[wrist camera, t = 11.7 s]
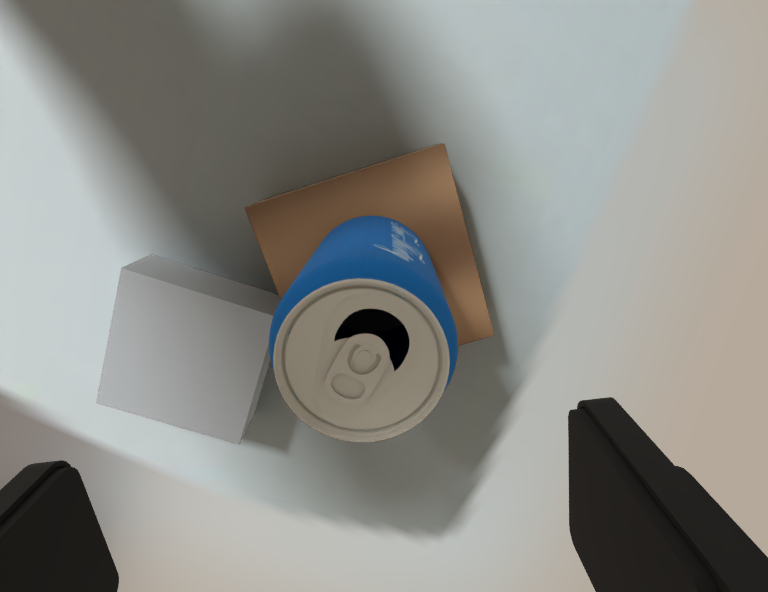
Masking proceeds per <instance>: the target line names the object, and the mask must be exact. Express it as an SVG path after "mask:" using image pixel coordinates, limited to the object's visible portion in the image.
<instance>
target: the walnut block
mask: <svg viewBox="0 0 768 592" xmlns="http://www.w3.org/2000/svg"><path fill="white" fill-rule="evenodd" d="M245 210H246V213H247V215H248V218H249V220H250V223H251V225H252V228H253V231H254V233H255V236H256V238H257V241H258V243H259V246H260V248H261V251H262V254H263V256H264V259H265V261H266V264H267V266H268V269H269V272H270V274H271V277H272V279H273V282H274V284H275V287H276V290H277V292H278V295H279V297H280V300H281V299H282V298H283V296H284V295H285V293H286V292H287V290H288V289H289V287H290V286H291V285H292V283H293V282H294V280H295V279H296V278H297V276H298V275H299V273H300V272H301V270H302V269H303V268H304V266H305V265H306V263H307V262H308V261H309V259H310V258H311V256H312V255H313V253H314V252H315V251H316V249H317V248H318V246H319V245H320V243H321V242H322V241H323V239H324V238H325V237H326V236H327V235H328V234H329V233H330V232H331V231H332V230H333V229H334V228H336V227H337V226H338V225H340V224H342V223H344V222H345V221H348V220H350V219H353V218H357V217H361V216H382V217H387V218H390V219H394V220H396V221H398V222H400V223H402V224H404V225H405V226H407V227H408V228H410V229H411V230H412V231H413V232H414V233H415V234H416V235H417V236H418V237H419V238H420V239H421V241H422V242H423V244H424V245H425V247H426V249H427V251H428V253H429V256H430V258H431V261H432V264H433V266H434V269H435V272H436V274H437V277H438V279H439V282H440V285H441V287H442V290H443V292H444V295H445V298H446V300H447V303H448V306H449V308H450V311H451V313H452V316H453V319H454V322H455V326H456V331H457V337H458V345H462V344H466V343H469V342H473V341H476V340H480V339H483V338H487V337H491V336H494V332H493V328H492V324H491V320H490V317H489V313H488V309H487V305H486V301H485V298H484V294H483V290H482V286H481V282H480V278H479V275H478V271H477V267H476V263H475V259H474V255H473V252H472V248H471V244H470V240H469V236H468V232H467V229H466V225H465V221H464V217H463V213H462V209H461V206H460V202H459V198H458V194H457V190H456V187H455V183H454V179H453V175H452V171H451V167H450V164H449V160H448V156H447V152H446V148H445V144H436V145H433V146H430V147H427V148H423V149H420V150H417V151H414V152H411V153H408V154H405V155H402V156H399V157H395V158H392V159H389V160H386V161H383V162H380V163H377V164H374V165H371V166H367V167H364V168H361V169H358V170H355V171H352V172H349V173H346V174H343V175H339V176H336V177H333V178H330V179H327V180H324V181H321V182H318V183H315V184H311V185H308V186H305V187H302V188H299V189H296V190H293V191H290V192H287V193H283V194H280V195H277V196H274V197H271V198H268V199H265V200H262V201H260V202H257V203H255V204H253V205H250V206H248V207H245Z"/></svg>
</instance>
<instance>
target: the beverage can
mask: <svg viewBox="0 0 768 592" xmlns="http://www.w3.org/2000/svg"><path fill="white" fill-rule="evenodd" d="M457 352H458V337H457V331H456V326H455V322H454V319H453V316H452V313H451V311H450V308H449V306H448V303H447V300H446V298H445V295H444V292H443V290H442V287H441V285H440V282H439V279H438V277H437V274H436V272H435V269H434V266H433V264H432V261H431V258H430V256H429V253H428V251H427V249H426V247H425V245H424V244H423V242H422V241H421V239H420V238H419V237H418V236H417V235H416V234H415V233H414V232H413V231H412V230H411V229H410V228H408V227H407V226H405V225H404V224H402V223H400V222H398V221H396V220H394V219H390V218H387V217H382V216H361V217H357V218H353V219H350V220H348V221H345V222H344V223H342V224H340V225H338V226H337V227H336V228H334V229H333V230H332V231H331V232H330V233H329V234H328V235H327V236H326V237H325V238H324V239H323V241H322V242H321V243H320V245H319V246H318V248H317V249H316V251H315V252H314V253H313V255H312V256H311V258H310V259H309V261H308V262H307V263H306V265H305V266H304V268H303V269H302V270H301V272H300V273H299V275H298V276H297V278H296V279H295V280H294V282H293V283H292V285H291V286H290V287H289V289H288V290H287V292H286V293H285V295H284V296H283V298H282V299H281V301H280V303H279V304H278V306H277V309H276V311H275V313H274V316H273V319H272V323H271V327H270V334H269V353H270V359H271V364H272V367H273V370H274V374H275V379H276V382H277V385H278V388H279V390H280V392H281V395H282V397H283V398H284V400H285V402H286V403H287V405H288V406H289V407H290V409H291V410H292V411H293V412H294V413H295V414H296V415H297V416H298V417H299V418H300V419H301V420H302V421H303V422H304V423H306V424H307V425H309V426H310V427H311V428H313V429H315V430H317V431H318V432H320V433H322V434H325V435H327V436H330V437H332V438H336V439H340V440H344V441H350V442H376V441H381V440H386V439H389V438H392V437H395V436H398V435H400V434H402V433H404V432H406V431H408V430H410V429H411V428H413V427H415V426H416V425H417V424H419V423H420V422H421V421H422V420H424V419H425V418H426V417H427V416H428V415H429V413H430V412H431V411H432V410H433V409H434V407H435V406H436V405H437V403H438V401H439V400H440V398H441V396H442V394H443V392H444V391H445V389H446V387H447V386H448V384H449V382H450V380H451V377H452V375H453V372H454V369H455V365H456V360H457Z"/></svg>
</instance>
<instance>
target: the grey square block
mask: <svg viewBox="0 0 768 592" xmlns="http://www.w3.org/2000/svg"><path fill="white" fill-rule="evenodd" d="M280 301H281V300H280V297H279V295H277V294H274V293H271V292H268V291H265V290H262V289H259V288H256V287H252V286H249V285H246V284H243V283H240V282H237V281H234V280H231V279H228V278H224V277H221V276H218V275H215V274H212V273H209V272H206V271H203V270H199V269H196V268H193V267H190V266H187V265H184V264H181V263H178V262H175V261H171V260H168V259H165V258H162V257H159V256H156V255H153V254H151V255H149V256H147V257H145V258H142V259H140V260H138V261H136V262H134V263H131V264H129V265H127V266H125V267H122V268H121V273H120V278H119V284H118V289H117V294H116V300H115V305H114V311H113V316H112V321H111V327H110V332H109V337H108V343H107V348H106V354H105V359H104V364H103V370H102V375H101V381H100V386H99V391H98V397H97V402H96V403H97V404H101V405H104V406H108V407H111V408H115V409H118V410H122V411H125V412H128V413H132V414H135V415H139V416H142V417H146V418H149V419H153V420H156V421H160V422H163V423H166V424H170V425H173V426H177V427H180V428H184V429H187V430H191V431H194V432H198V433H201V434H204V435H208V436H211V437H215V438H218V439H222V440H225V441H229V442H232V443H235V444H240V442H241V440H242V438H243V436H244V434H245V432H246V430H247V428H248V426H249V424H250V422H251V420H252V418H253V416H254V414H255V410H256V407H257V404H258V400H259V397H260V393H261V390H262V387H263V383H264V380H265V377H266V373H267V370H268V366H269V363H270V360H271V359H270V353H269V334H270V327H271V323H272V319H273V316H274V313H275V311H276V309H277V306H278V304H279V303H280Z"/></svg>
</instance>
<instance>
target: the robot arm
mask: <svg viewBox="0 0 768 592" xmlns="http://www.w3.org/2000/svg"><path fill="white" fill-rule="evenodd" d="M568 422H569V423H568V430H569V526H570V533H571V537H572V541H573V544H574V547H575V549H576V551H577V553H578V555H579V557H580V559H581V561H582V563H583V566H584V568H585V570H586V572H587V574H588V576H589V578H590V580H591V583H592V585H593V587H594V589H595V591H596V592H768V557H767V556H766V555H765V554H764V553H763V552H762V551H761V550H760V549H759V548H758V547H757V545H756V544H755V543H754V542H753V541H752V540H751V539H750V538H749V537H748V536H747V535H746V534H745V533H744V532H743V530H742V529H741V528H740V527H739V526H738V525H737V524H736V523H735V522H734V521H733V520H732V518H731V517H730V516H729V515H728V514H727V513H726V512H725V511H724V510H723V509H722V508H721V507H720V505H719V504H718V503H717V502H716V501H715V500H714V499H713V498H712V497H711V496H710V495H709V494H708V492H707V491H706V490H705V489H704V488H703V487H702V486H701V485H700V484H699V483H698V482H697V481H696V479H695V478H694V477H693V476H692V475H691V474H690V473H688V472H687V471H686V470H685V469H684V468H681V467H678V466H674V465H673V463H672V462H670V460H669V459H668V458H667V457H666V456H665V455H664V453H663V452H662V451H661V450H660V449H659V448H658V447H657V446H656V445H655V443H654V442H653V441H652V440H651V439H650V438H649V437H648V436H647V435H646V433H645V432H644V431H643V430H642V429H641V428H640V427H639V426H638V425H637V423H636V422H635V421H634V420H633V419H632V418H631V417H630V416H629V415H628V414H627V412H626V411H625V410H624V409H623V408H622V407H621V406H620V405H619V403H617V401H616V400H615V399H613V398H600V399H592V400H583V401H580V402H579V403H578V406H577V409H575V410H570V411H569V416H568ZM118 583H119V576H118V572H117V570H116V567H115V564H114V562H113V559H112V557H111V554H110V552H109V549H108V547H107V544H106V541H105V538H104V536H103V533H102V531H101V528H100V525H99V523H98V521H97V518H96V515H95V513H94V510H93V507H92V505H91V502H90V500H89V497H88V495H87V492H86V489H85V487H84V484H83V481H82V479H81V476H80V474H79V472H78V470H77V469H75V468H73V467H71V466H70V464H68V463H67V462H66V461H53V462H45V463H35V464H31V465H28V466H27V467H25V468H24V469H23V470H22V471H20V472H19V473H18V474H17V475H16V476H15V477H14V478H13V479H12V480H11V481H10V482H9V483H8V484H6V485H5V486H4V487H3V488H2V489H1V490H0V592H117V589H118Z"/></svg>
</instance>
